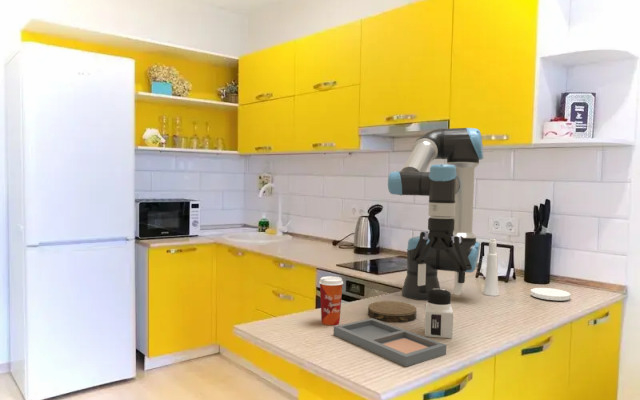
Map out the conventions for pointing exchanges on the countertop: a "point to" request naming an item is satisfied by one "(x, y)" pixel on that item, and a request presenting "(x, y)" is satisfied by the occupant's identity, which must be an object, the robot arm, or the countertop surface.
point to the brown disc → (392, 311)
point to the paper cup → (330, 299)
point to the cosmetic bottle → (491, 271)
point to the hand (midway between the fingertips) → (439, 289)
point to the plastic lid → (550, 294)
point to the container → (438, 314)
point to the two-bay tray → (390, 341)
